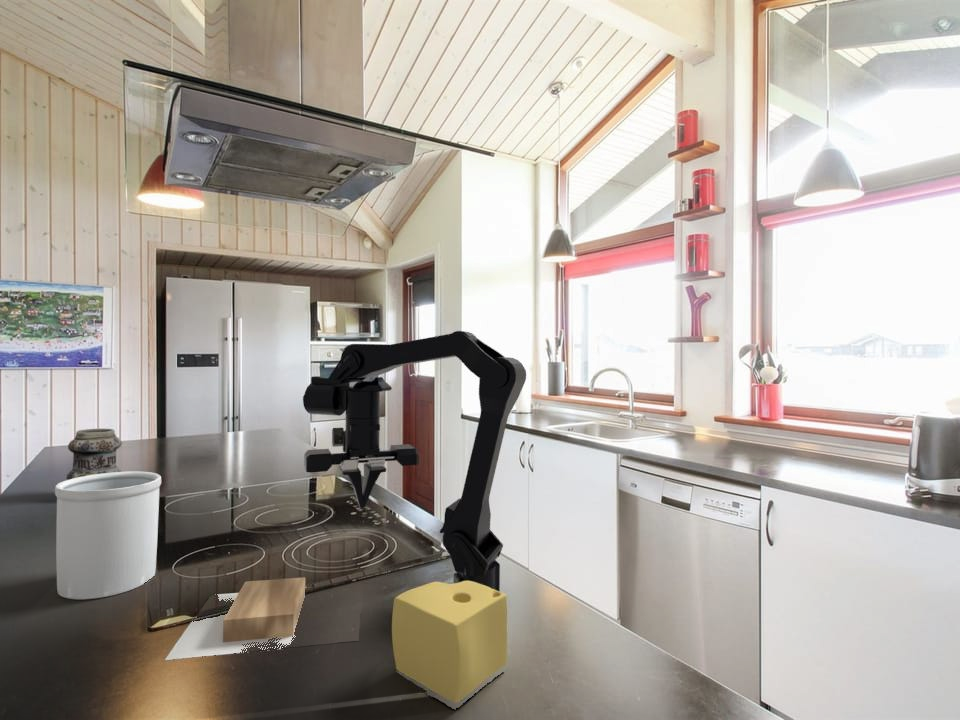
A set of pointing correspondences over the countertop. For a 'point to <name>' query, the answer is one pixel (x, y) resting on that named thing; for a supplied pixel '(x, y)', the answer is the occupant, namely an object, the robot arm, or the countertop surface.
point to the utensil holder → (106, 533)
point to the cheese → (450, 635)
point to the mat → (213, 638)
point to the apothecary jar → (94, 452)
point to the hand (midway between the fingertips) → (361, 507)
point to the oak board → (265, 610)
